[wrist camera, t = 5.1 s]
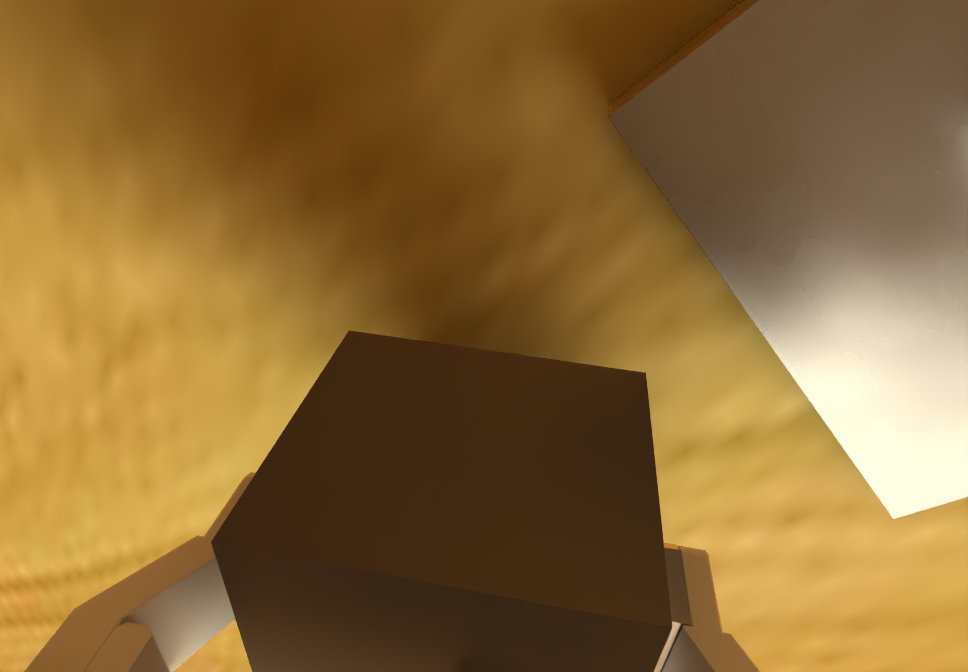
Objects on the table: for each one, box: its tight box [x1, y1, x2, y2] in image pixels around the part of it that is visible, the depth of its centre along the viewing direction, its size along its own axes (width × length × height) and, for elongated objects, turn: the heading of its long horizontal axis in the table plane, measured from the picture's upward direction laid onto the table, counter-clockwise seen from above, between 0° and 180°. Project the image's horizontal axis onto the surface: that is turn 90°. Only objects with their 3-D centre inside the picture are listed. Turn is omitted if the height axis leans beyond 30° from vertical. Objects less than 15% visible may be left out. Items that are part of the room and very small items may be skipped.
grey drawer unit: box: [211, 331, 672, 672], centre depth 11 cm, size 6×6×6 cm
